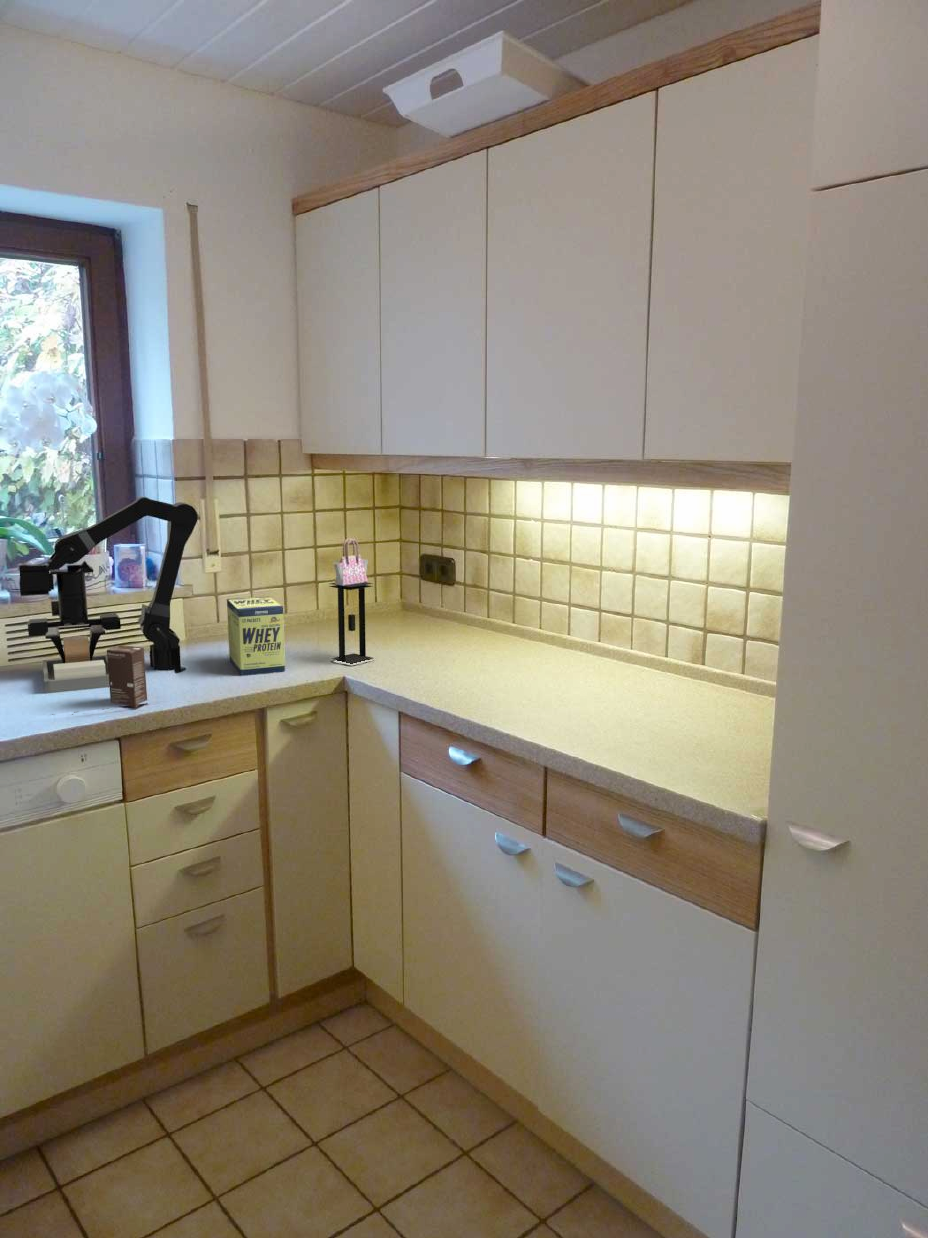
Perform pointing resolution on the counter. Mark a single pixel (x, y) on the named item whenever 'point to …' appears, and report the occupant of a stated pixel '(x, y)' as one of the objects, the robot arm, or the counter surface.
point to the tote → (73, 683)
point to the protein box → (256, 635)
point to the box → (127, 676)
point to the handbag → (351, 578)
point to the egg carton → (79, 669)
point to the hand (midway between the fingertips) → (77, 662)
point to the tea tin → (76, 649)
